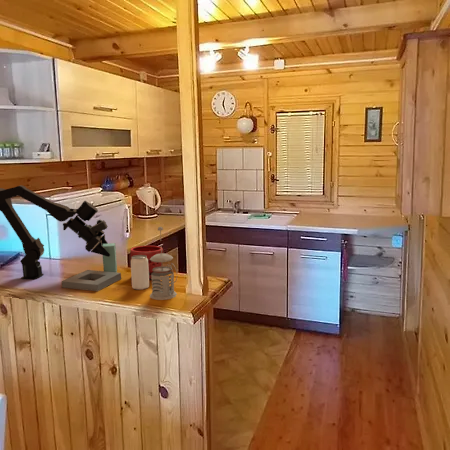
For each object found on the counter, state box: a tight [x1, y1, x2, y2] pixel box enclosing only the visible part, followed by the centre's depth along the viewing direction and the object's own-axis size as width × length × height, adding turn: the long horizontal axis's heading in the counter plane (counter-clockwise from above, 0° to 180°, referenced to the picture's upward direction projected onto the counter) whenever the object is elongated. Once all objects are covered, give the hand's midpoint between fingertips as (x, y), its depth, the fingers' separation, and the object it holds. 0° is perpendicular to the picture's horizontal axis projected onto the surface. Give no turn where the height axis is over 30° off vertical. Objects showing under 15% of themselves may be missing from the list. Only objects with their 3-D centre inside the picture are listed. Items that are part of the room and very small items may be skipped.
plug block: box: [102, 243, 118, 273], centre depth 188 cm, size 5×5×12 cm
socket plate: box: [61, 269, 122, 292], centre depth 174 cm, size 16×16×2 cm
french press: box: [149, 226, 178, 301], centre depth 156 cm, size 10×12×25 cm
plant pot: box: [129, 245, 164, 280], centre depth 181 cm, size 13×13×12 cm
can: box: [130, 255, 150, 291], centre depth 167 cm, size 6×6×12 cm
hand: (110, 253), depth 187 cm, fingers open, 9 cm apart
